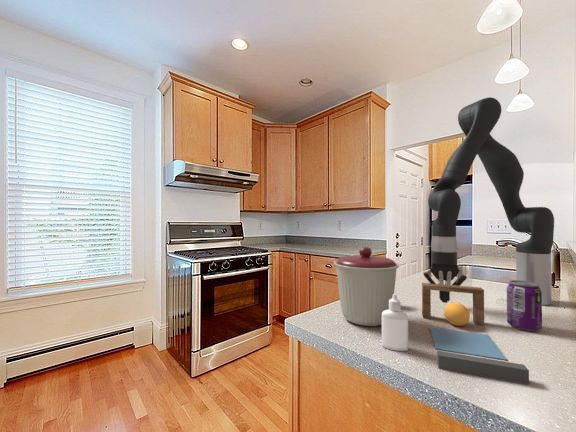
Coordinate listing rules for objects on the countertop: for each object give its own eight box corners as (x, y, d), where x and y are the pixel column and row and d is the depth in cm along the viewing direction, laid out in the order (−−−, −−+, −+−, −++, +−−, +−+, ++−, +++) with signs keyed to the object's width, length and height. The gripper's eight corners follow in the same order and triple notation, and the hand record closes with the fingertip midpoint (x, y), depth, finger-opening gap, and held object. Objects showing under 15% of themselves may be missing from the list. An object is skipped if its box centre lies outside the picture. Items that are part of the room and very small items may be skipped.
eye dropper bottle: (401, 355, 58) (401, 299, 58) (378, 345, 62) (378, 293, 62) (411, 349, 60) (411, 295, 61) (388, 340, 65) (388, 290, 65)
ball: (443, 324, 77) (441, 302, 79) (468, 325, 75) (465, 303, 77) (447, 325, 72) (444, 301, 73) (474, 327, 70) (470, 302, 71)
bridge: (422, 314, 82) (422, 282, 82) (481, 321, 76) (480, 287, 77) (423, 318, 79) (422, 285, 79) (484, 325, 74) (484, 290, 74)
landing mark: (429, 327, 72) (429, 326, 72) (487, 335, 68) (487, 334, 68) (435, 349, 60) (435, 348, 60) (507, 360, 55) (507, 359, 55)
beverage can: (549, 334, 68) (548, 286, 68) (517, 332, 70) (516, 285, 70) (530, 323, 75) (529, 280, 75) (501, 321, 77) (500, 279, 77)
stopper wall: (437, 363, 55) (437, 350, 55) (524, 378, 49) (524, 364, 49) (438, 368, 53) (438, 355, 53) (529, 384, 47) (528, 370, 47)
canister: (367, 338, 66) (366, 252, 66) (321, 315, 81) (321, 245, 82) (413, 324, 75) (413, 248, 75) (364, 306, 91) (364, 243, 91)
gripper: (464, 249, 91) (465, 301, 91) (421, 248, 96) (421, 296, 96) (470, 252, 84) (470, 307, 84) (422, 250, 89) (423, 302, 89)
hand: (444, 301), depth 90 cm, fingers closed
